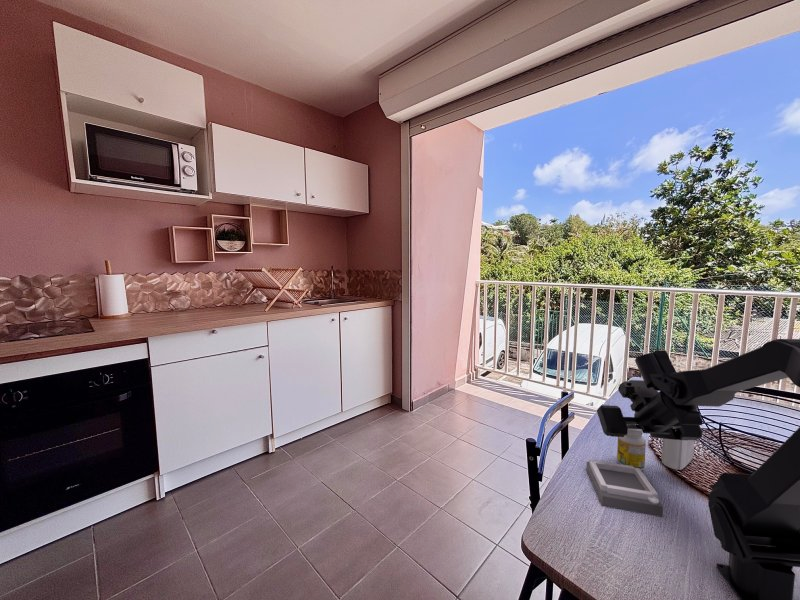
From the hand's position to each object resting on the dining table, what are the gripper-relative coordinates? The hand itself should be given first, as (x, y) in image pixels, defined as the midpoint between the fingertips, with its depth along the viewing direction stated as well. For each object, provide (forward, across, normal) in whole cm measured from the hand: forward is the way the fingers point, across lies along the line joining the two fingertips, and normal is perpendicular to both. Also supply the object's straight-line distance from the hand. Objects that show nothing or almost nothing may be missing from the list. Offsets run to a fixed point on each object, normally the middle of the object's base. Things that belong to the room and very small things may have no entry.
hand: (630, 434), depth 75 cm
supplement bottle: (+5, 0, +6) cm, 8 cm away
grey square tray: (-2, +7, +13) cm, 15 cm away
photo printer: (+7, -12, +4) cm, 15 cm away
